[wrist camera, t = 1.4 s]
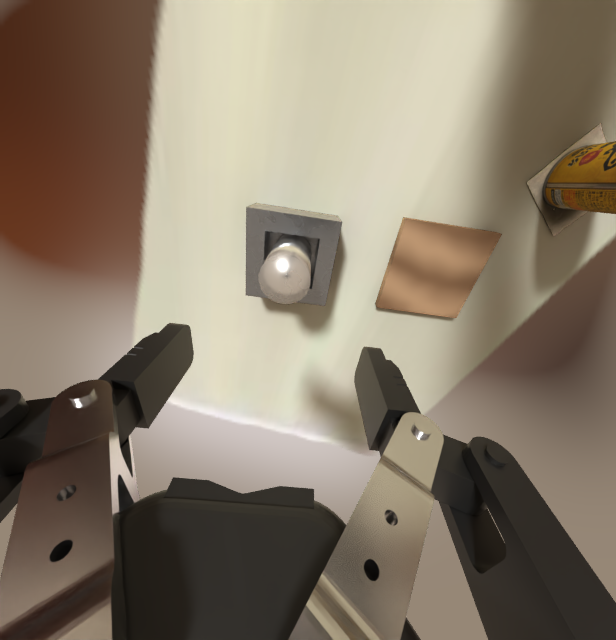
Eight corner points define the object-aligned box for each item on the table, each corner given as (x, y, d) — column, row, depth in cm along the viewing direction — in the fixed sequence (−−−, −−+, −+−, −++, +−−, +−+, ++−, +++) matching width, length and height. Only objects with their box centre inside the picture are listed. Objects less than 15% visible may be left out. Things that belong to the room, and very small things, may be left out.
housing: (256, 203, 28) (246, 206, 24) (337, 215, 29) (342, 222, 25) (254, 280, 33) (245, 295, 29) (323, 290, 34) (325, 305, 30)
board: (403, 217, 29) (406, 218, 28) (495, 232, 30) (501, 233, 28) (375, 303, 35) (377, 307, 34) (452, 314, 36) (456, 318, 35)
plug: (275, 230, 29) (259, 251, 20) (313, 236, 29) (314, 259, 21) (272, 267, 31) (257, 300, 23) (308, 272, 32) (306, 307, 23)
